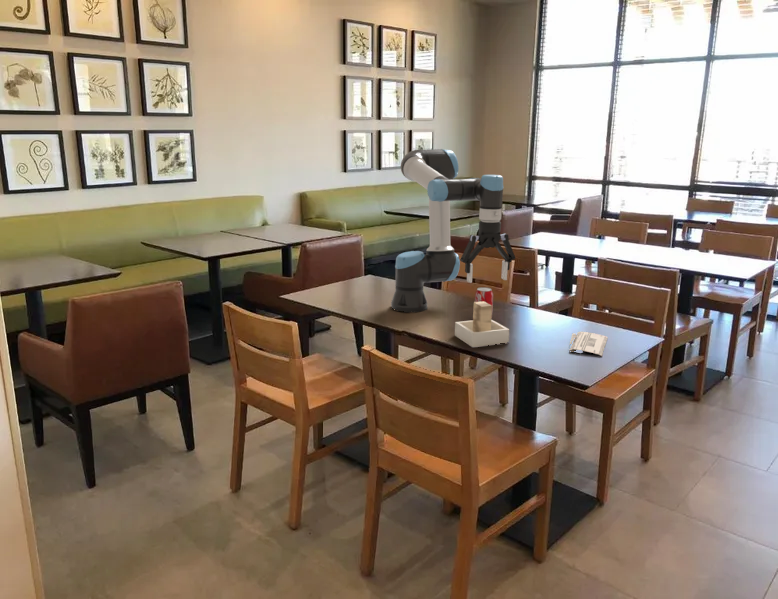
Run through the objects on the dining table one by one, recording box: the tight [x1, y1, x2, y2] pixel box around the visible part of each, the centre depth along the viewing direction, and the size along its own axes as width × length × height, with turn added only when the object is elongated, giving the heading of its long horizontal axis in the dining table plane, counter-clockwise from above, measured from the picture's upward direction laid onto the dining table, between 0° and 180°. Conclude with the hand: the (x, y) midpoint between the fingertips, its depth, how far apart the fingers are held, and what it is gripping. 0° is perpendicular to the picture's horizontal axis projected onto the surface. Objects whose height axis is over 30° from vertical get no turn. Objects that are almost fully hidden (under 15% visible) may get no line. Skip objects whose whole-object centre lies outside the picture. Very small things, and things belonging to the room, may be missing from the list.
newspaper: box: [569, 331, 609, 357], centre depth 216 cm, size 23×12×2 cm, turn 156°
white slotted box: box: [454, 319, 510, 348], centre depth 221 cm, size 14×14×5 cm
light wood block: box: [472, 301, 493, 332], centre depth 220 cm, size 6×4×12 cm, turn 20°
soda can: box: [474, 286, 494, 319], centre depth 245 cm, size 7×7×12 cm
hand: (486, 280), depth 221 cm, fingers open, 13 cm apart
